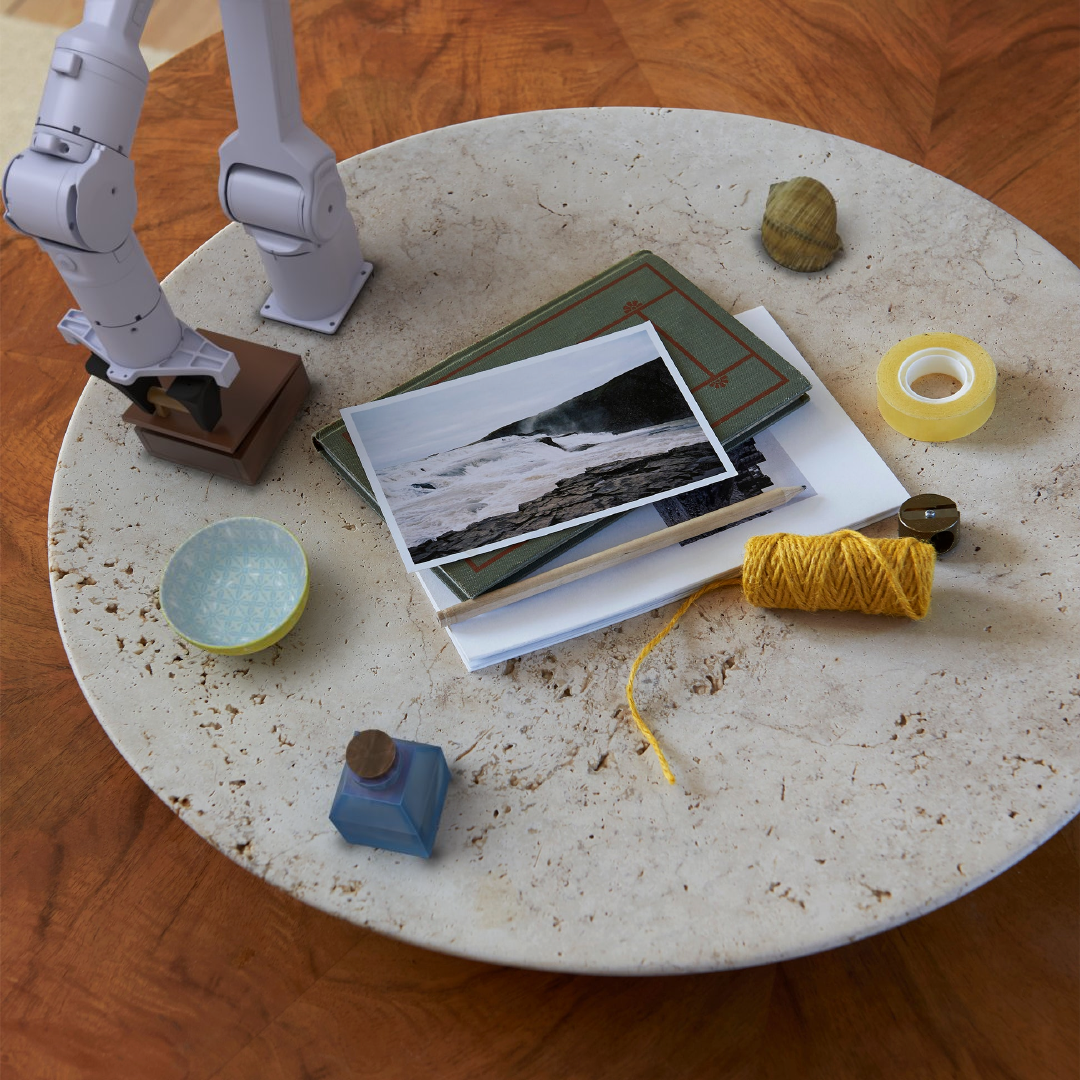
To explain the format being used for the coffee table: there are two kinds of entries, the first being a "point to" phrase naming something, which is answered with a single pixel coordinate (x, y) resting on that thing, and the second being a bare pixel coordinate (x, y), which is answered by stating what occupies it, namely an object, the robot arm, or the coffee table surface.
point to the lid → (222, 395)
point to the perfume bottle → (391, 793)
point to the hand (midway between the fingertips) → (183, 413)
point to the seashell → (801, 224)
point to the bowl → (235, 585)
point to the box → (252, 448)
